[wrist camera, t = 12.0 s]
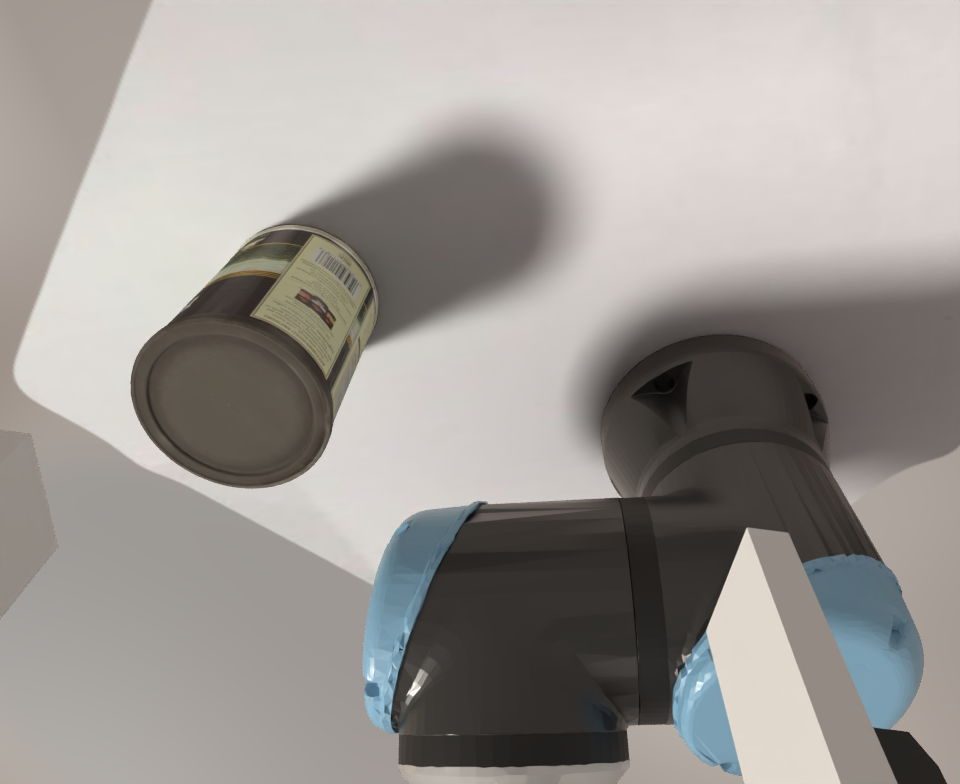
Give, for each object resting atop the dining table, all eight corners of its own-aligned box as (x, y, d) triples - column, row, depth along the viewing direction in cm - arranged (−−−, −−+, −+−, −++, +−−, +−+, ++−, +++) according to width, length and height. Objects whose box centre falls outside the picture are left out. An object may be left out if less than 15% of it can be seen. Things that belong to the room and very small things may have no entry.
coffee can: (215, 336, 52) (118, 454, 40) (244, 200, 47) (142, 287, 35) (356, 385, 53) (304, 513, 41) (399, 258, 48) (354, 362, 36)
